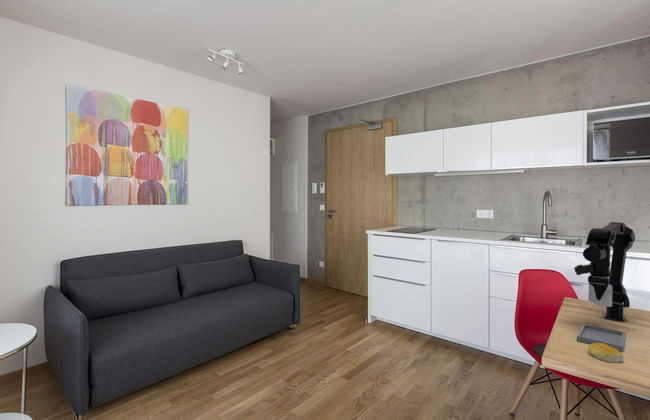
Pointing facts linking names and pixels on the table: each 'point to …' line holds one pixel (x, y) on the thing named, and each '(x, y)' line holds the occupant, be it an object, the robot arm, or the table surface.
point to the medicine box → (606, 297)
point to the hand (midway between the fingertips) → (599, 297)
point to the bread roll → (605, 352)
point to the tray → (601, 336)
